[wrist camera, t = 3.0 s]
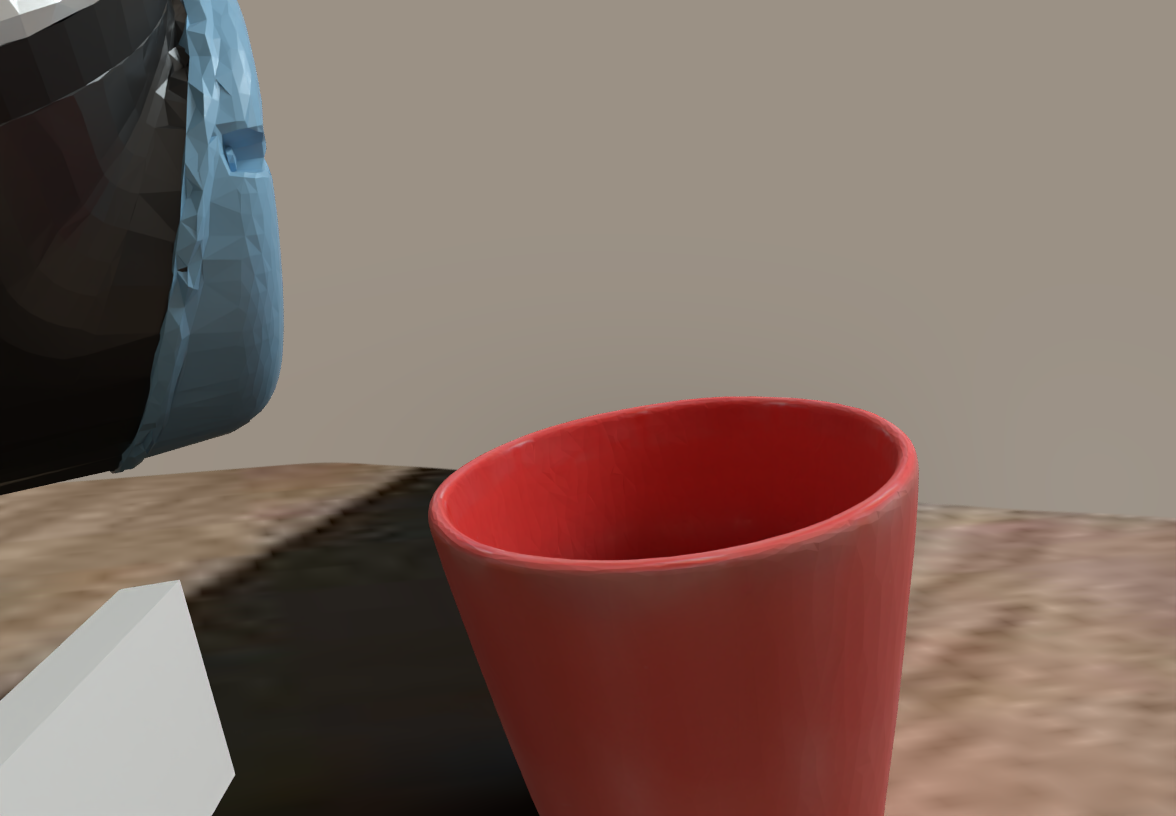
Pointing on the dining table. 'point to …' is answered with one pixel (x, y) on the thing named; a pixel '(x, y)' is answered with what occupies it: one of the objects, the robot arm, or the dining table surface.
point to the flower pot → (691, 604)
